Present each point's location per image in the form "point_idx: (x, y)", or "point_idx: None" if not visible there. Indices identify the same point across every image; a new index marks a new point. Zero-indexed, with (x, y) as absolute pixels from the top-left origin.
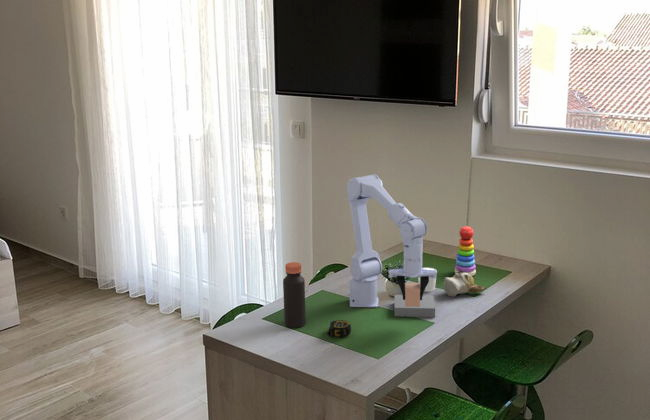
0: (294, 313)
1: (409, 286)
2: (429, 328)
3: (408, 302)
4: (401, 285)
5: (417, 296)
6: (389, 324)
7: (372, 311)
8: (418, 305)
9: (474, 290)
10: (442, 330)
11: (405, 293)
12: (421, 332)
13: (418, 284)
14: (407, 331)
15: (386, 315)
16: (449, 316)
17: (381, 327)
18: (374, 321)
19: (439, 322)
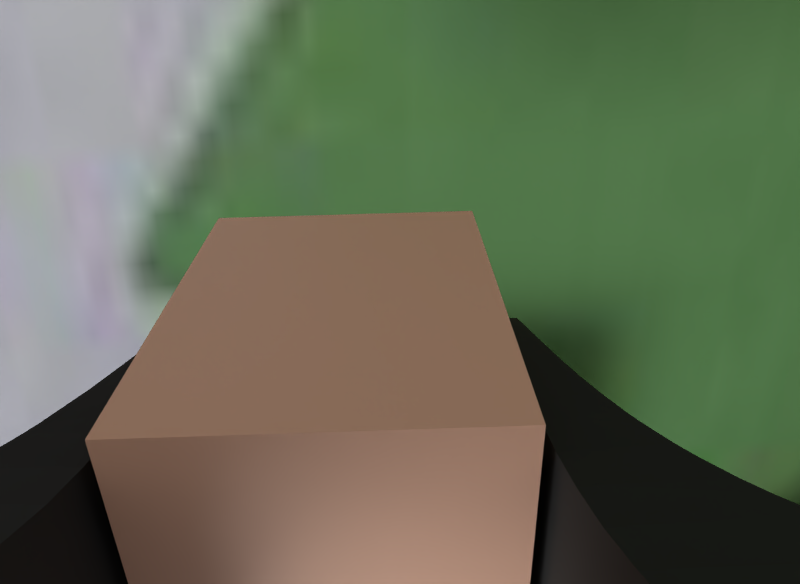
0: None
1: (416, 549)
2: (164, 130)
3: (420, 241)
4: (704, 495)
5: (221, 307)
6: (604, 198)
7: (727, 454)
8: (238, 227)
9: None
10: (7, 87)
11: (512, 334)
12: (244, 9)
13: None
14: (412, 25)
15: (610, 390)
16: (12, 415)
17: (704, 114)
18: (751, 256)
19: (81, 284)
